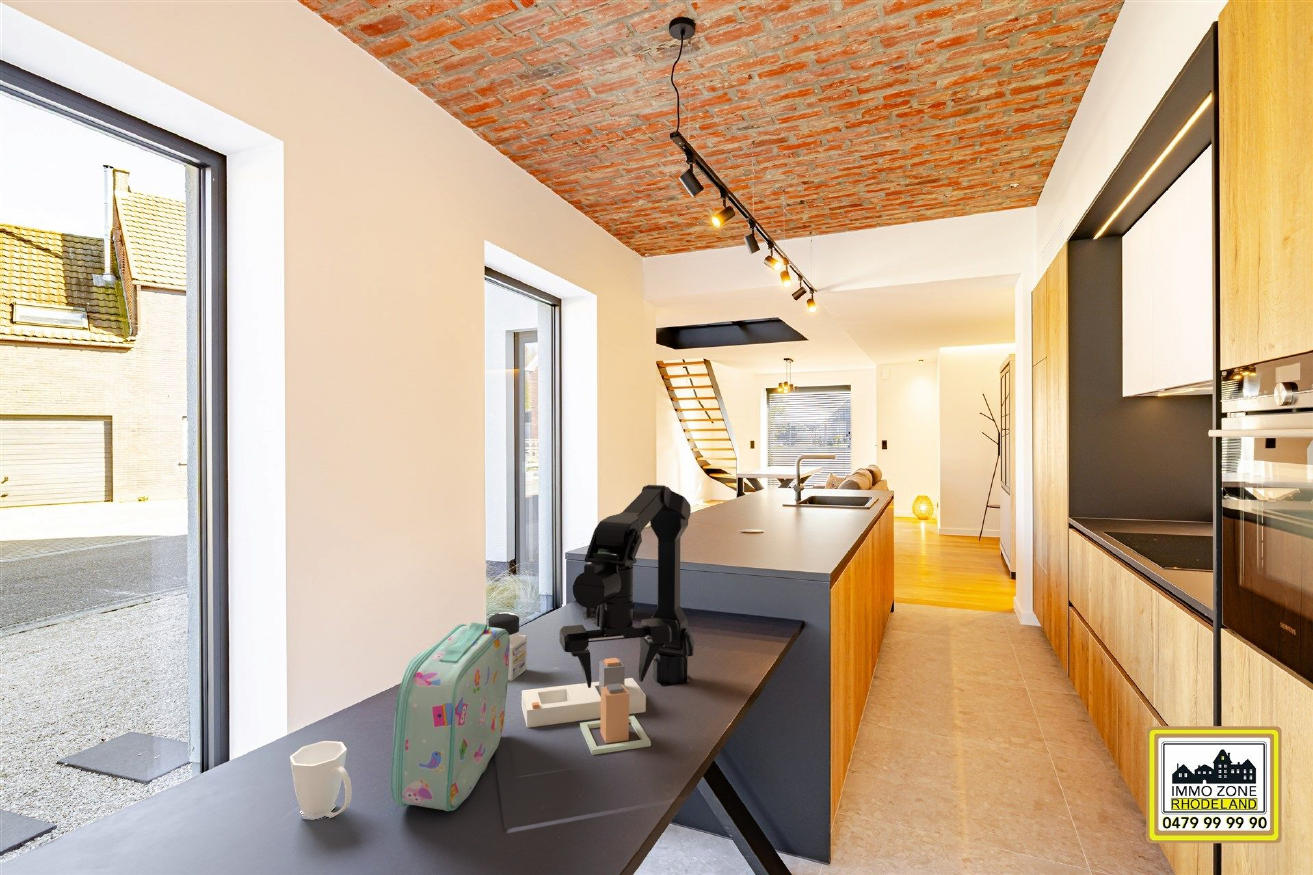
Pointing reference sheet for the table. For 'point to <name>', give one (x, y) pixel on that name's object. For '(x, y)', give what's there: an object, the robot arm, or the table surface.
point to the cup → (320, 778)
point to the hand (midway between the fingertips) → (615, 683)
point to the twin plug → (611, 672)
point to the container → (512, 642)
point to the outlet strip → (572, 703)
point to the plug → (614, 713)
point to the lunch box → (449, 717)
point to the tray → (618, 746)
